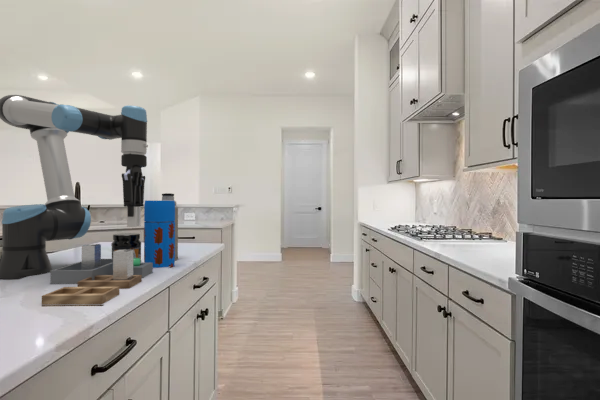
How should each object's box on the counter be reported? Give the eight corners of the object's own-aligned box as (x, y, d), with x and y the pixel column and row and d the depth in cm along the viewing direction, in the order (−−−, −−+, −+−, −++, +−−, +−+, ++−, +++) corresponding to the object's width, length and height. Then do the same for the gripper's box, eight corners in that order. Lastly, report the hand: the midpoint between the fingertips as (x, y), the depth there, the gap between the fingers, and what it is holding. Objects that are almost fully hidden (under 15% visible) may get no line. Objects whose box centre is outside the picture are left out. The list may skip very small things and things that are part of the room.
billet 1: (81, 277, 116) (81, 245, 116) (88, 274, 120) (88, 243, 120) (94, 277, 117) (94, 245, 117) (100, 274, 121) (100, 243, 121)
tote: (50, 286, 107) (50, 270, 107) (90, 271, 129) (90, 258, 129) (92, 285, 108) (92, 270, 108) (125, 271, 130) (125, 258, 130)
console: (113, 280, 115) (113, 267, 115) (125, 274, 124) (125, 262, 124) (142, 280, 116) (142, 267, 116) (152, 274, 125) (152, 262, 125)
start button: (124, 269, 118) (124, 259, 118) (130, 266, 122) (130, 257, 122) (137, 269, 118) (137, 259, 118) (142, 266, 122) (142, 257, 122)
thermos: (180, 265, 142) (181, 200, 142) (161, 270, 132) (162, 200, 132) (157, 263, 146) (157, 200, 146) (137, 268, 136) (137, 200, 136)
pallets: (41, 306, 87) (41, 295, 87) (94, 283, 111) (94, 275, 111) (102, 306, 87) (102, 295, 87) (141, 283, 111) (141, 275, 111)
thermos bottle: (163, 258, 159) (163, 193, 159) (180, 258, 159) (181, 193, 159) (154, 261, 151) (154, 193, 151) (172, 261, 151) (173, 193, 151)
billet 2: (113, 286, 105) (113, 251, 105) (119, 283, 109) (119, 249, 109) (127, 286, 105) (127, 250, 105) (133, 283, 109) (133, 249, 109)
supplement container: (133, 267, 137) (133, 235, 137) (105, 267, 137) (105, 235, 137) (146, 262, 148) (146, 233, 148) (120, 262, 148) (120, 232, 148)
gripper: (136, 151, 112) (135, 228, 112) (154, 157, 128) (154, 225, 128) (111, 151, 112) (110, 228, 112) (132, 157, 128) (132, 225, 128)
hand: (133, 226), depth 120 cm, fingers open, 3 cm apart
